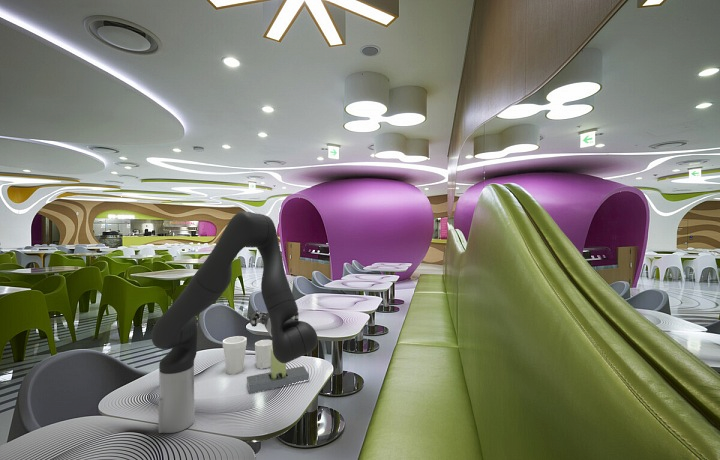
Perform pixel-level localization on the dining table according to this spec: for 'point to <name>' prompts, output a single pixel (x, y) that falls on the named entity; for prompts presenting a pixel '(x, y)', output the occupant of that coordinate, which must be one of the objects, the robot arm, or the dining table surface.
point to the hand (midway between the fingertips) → (270, 311)
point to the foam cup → (234, 353)
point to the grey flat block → (265, 381)
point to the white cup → (263, 353)
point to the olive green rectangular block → (277, 367)
